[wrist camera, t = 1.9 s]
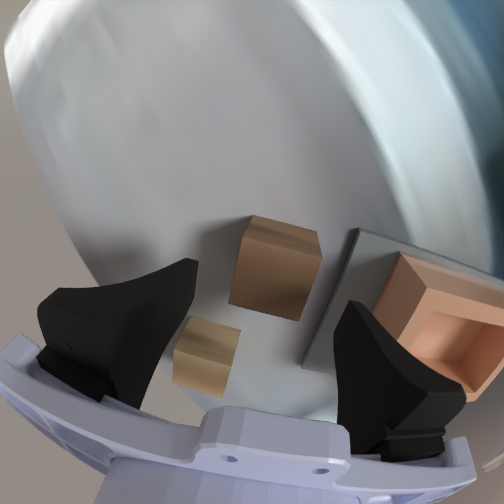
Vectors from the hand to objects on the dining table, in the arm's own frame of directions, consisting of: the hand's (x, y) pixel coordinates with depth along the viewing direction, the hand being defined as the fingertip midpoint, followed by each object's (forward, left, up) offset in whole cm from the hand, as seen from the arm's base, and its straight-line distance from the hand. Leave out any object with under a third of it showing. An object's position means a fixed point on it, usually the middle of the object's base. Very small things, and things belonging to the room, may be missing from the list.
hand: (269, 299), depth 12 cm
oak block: (-9, +3, -6) cm, 11 cm away
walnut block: (0, 0, -6) cm, 6 cm away
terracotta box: (-2, -14, -5) cm, 15 cm away
